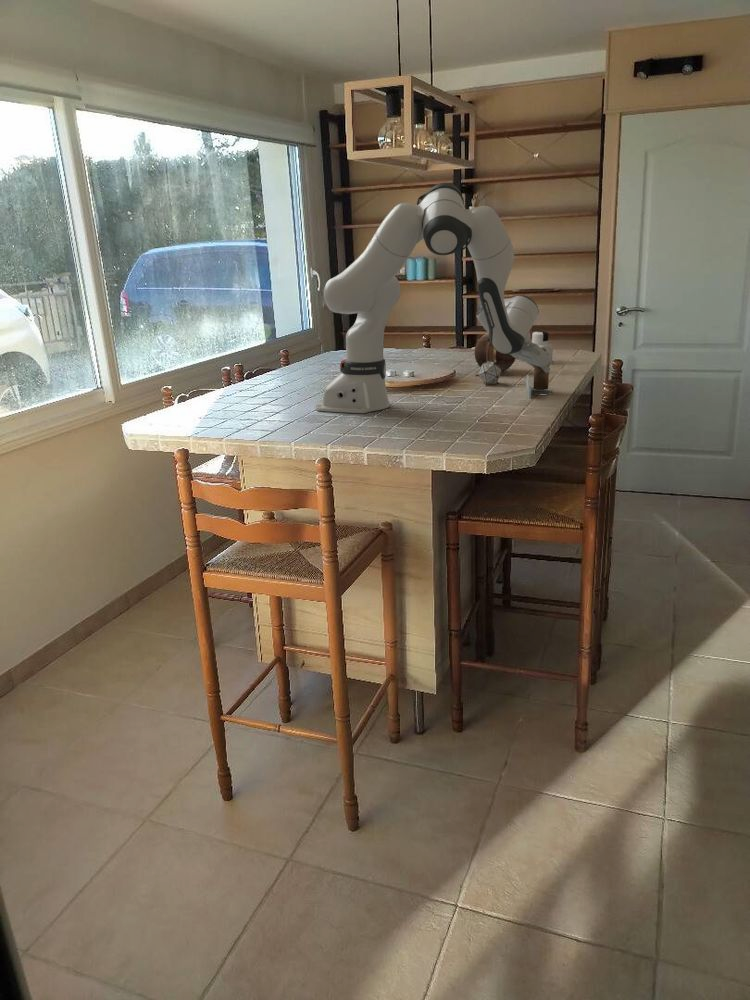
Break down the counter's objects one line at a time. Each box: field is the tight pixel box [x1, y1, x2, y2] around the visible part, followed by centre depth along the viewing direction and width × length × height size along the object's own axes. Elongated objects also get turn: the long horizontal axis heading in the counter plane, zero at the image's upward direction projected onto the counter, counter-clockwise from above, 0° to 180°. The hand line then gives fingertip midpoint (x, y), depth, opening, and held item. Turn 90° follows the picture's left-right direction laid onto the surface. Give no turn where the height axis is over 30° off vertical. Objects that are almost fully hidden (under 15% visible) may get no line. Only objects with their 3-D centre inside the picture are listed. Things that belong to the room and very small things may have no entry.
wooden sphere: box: [474, 332, 517, 373], centre depth 274 cm, size 15×15×15 cm
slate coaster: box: [531, 389, 552, 395], centre depth 242 cm, size 7×7×1 cm
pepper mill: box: [532, 348, 550, 390], centre depth 239 cm, size 5×5×13 cm
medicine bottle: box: [525, 330, 554, 365], centre depth 291 cm, size 7×7×12 cm
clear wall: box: [525, 374, 532, 399], centre depth 242 cm, size 1×18×4 cm, turn 172°
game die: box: [475, 360, 505, 387], centre depth 256 cm, size 9×8×10 cm
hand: (543, 369), depth 240 cm, fingers closed on pepper mill, 4 cm apart
